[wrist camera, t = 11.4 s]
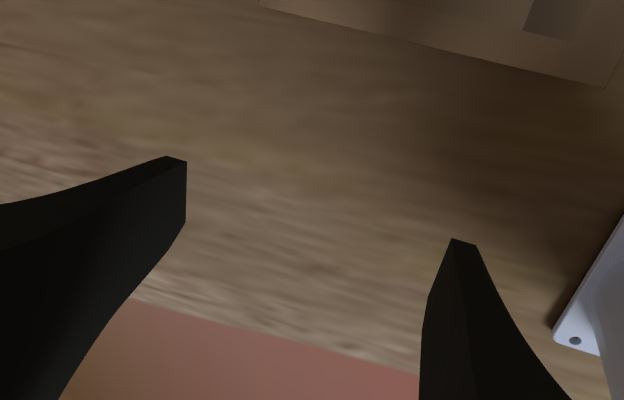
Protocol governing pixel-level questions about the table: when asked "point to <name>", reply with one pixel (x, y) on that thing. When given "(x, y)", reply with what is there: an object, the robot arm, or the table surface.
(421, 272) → the table surface
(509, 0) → the socket block
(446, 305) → the robot arm
